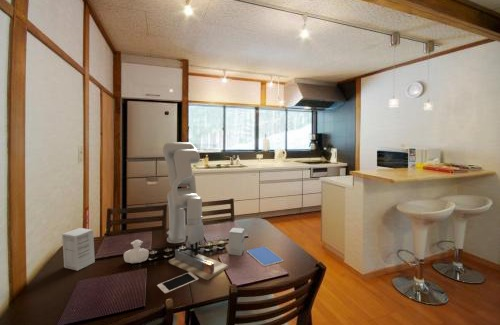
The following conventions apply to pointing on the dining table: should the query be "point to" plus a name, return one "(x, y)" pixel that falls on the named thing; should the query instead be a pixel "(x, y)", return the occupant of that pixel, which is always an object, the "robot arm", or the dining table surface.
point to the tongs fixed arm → (193, 262)
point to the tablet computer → (264, 256)
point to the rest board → (217, 269)
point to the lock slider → (190, 252)
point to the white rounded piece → (136, 253)
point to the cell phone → (177, 282)
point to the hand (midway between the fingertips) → (194, 254)
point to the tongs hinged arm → (200, 259)
